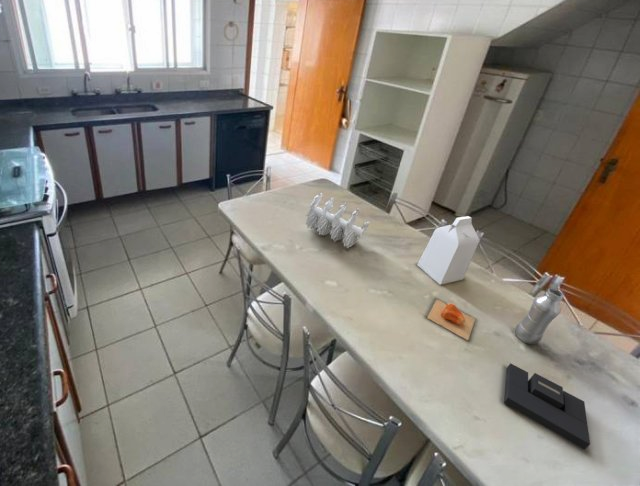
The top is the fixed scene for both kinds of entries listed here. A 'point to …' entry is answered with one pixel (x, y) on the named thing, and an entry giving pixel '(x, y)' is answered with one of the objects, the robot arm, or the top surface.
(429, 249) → the milk
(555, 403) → the dark grey square block
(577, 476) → the top surface
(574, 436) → the dark grey u-shaped block
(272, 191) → the top surface
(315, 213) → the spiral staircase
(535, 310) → the plastic bottle
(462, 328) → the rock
